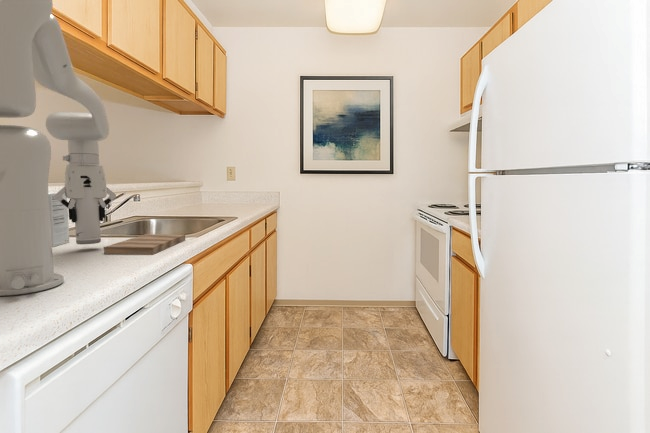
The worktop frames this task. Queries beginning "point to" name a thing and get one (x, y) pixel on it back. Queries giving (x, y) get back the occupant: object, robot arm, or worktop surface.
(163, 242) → the walnut board
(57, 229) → the supplement box
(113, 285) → the worktop surface
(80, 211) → the travel mug
